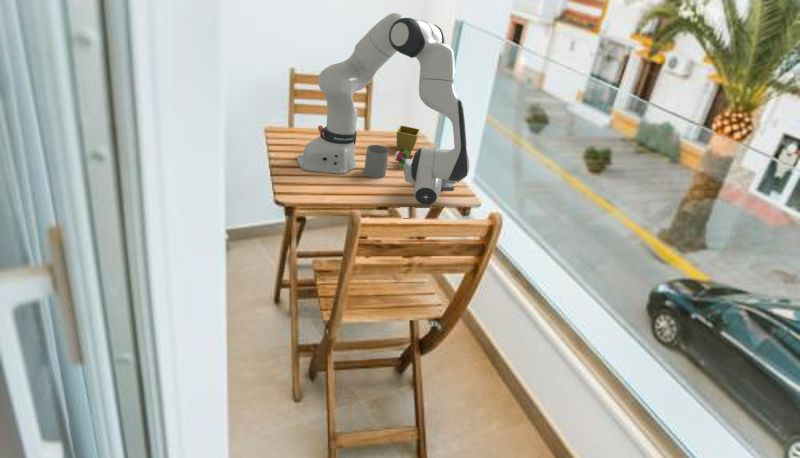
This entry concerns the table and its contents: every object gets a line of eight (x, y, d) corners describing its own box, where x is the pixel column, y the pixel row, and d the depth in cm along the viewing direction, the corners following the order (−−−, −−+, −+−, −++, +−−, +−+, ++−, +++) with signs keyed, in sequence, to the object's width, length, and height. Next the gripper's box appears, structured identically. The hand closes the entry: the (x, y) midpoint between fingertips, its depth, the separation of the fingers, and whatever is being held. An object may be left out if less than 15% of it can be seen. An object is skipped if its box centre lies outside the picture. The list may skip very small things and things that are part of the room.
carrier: (424, 189, 194) (426, 180, 192) (410, 170, 207) (412, 161, 205) (453, 189, 198) (455, 181, 196) (438, 170, 211) (440, 162, 209)
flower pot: (413, 155, 221) (417, 135, 216) (393, 151, 222) (396, 131, 217) (416, 148, 229) (420, 129, 224) (397, 144, 229) (400, 125, 225)
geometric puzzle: (411, 156, 214) (403, 142, 209) (419, 163, 209) (411, 149, 204) (397, 166, 214) (389, 152, 208) (404, 173, 209) (396, 159, 203)
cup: (366, 177, 195) (369, 153, 190) (361, 168, 201) (364, 144, 196) (387, 178, 197) (391, 154, 192) (382, 169, 204) (386, 145, 199)
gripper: (461, 175, 179) (462, 160, 191) (403, 163, 180) (407, 149, 191) (457, 191, 182) (458, 175, 194) (400, 180, 183) (405, 165, 195)
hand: (433, 162), depth 193 cm, fingers open, 8 cm apart
